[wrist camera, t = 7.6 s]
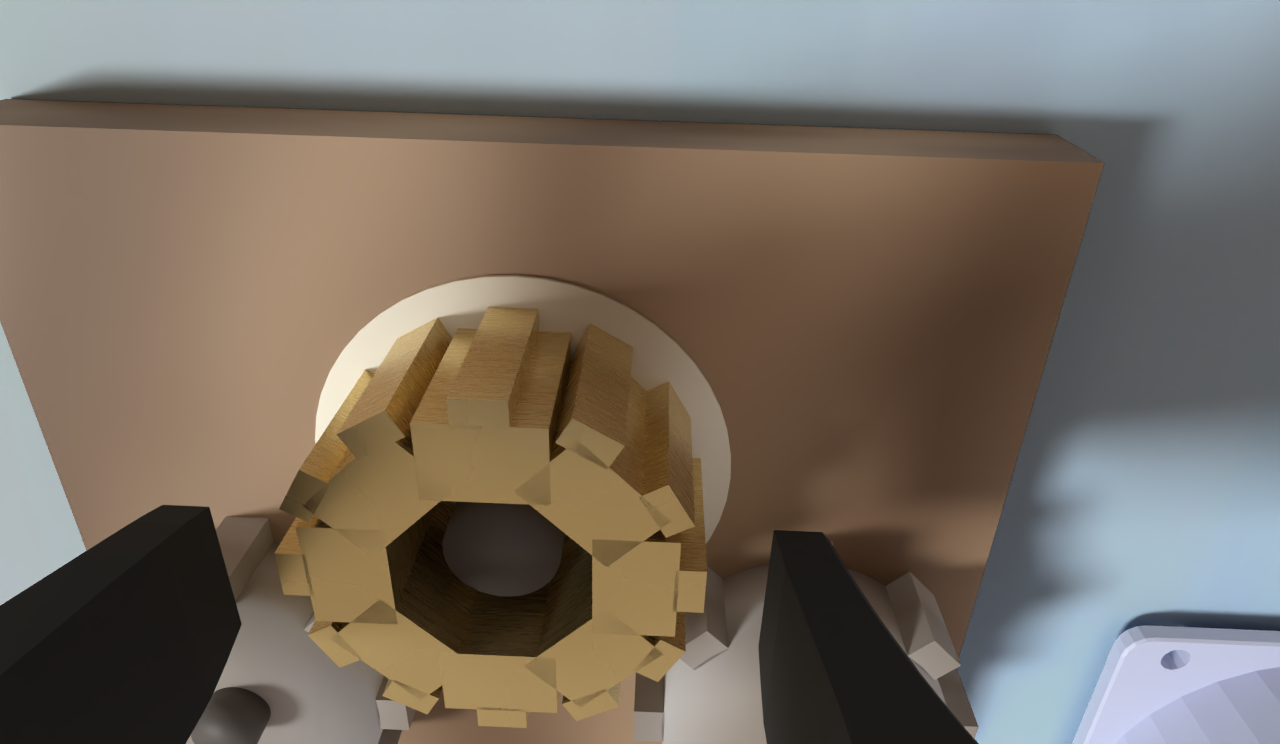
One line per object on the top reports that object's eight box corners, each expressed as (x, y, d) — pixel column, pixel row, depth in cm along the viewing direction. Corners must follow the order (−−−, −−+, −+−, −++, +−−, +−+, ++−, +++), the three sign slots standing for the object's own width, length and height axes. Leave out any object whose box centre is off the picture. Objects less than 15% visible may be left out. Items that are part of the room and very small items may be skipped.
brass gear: (711, 314, 12) (720, 409, 9) (689, 608, 14) (692, 735, 12) (316, 300, 12) (235, 390, 10) (367, 594, 14) (313, 718, 12)
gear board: (1056, 134, 12) (1196, 216, 9) (896, 744, 18) (943, 919, 15) (6, 99, 12) (-229, 166, 9) (207, 713, 18) (111, 879, 15)
